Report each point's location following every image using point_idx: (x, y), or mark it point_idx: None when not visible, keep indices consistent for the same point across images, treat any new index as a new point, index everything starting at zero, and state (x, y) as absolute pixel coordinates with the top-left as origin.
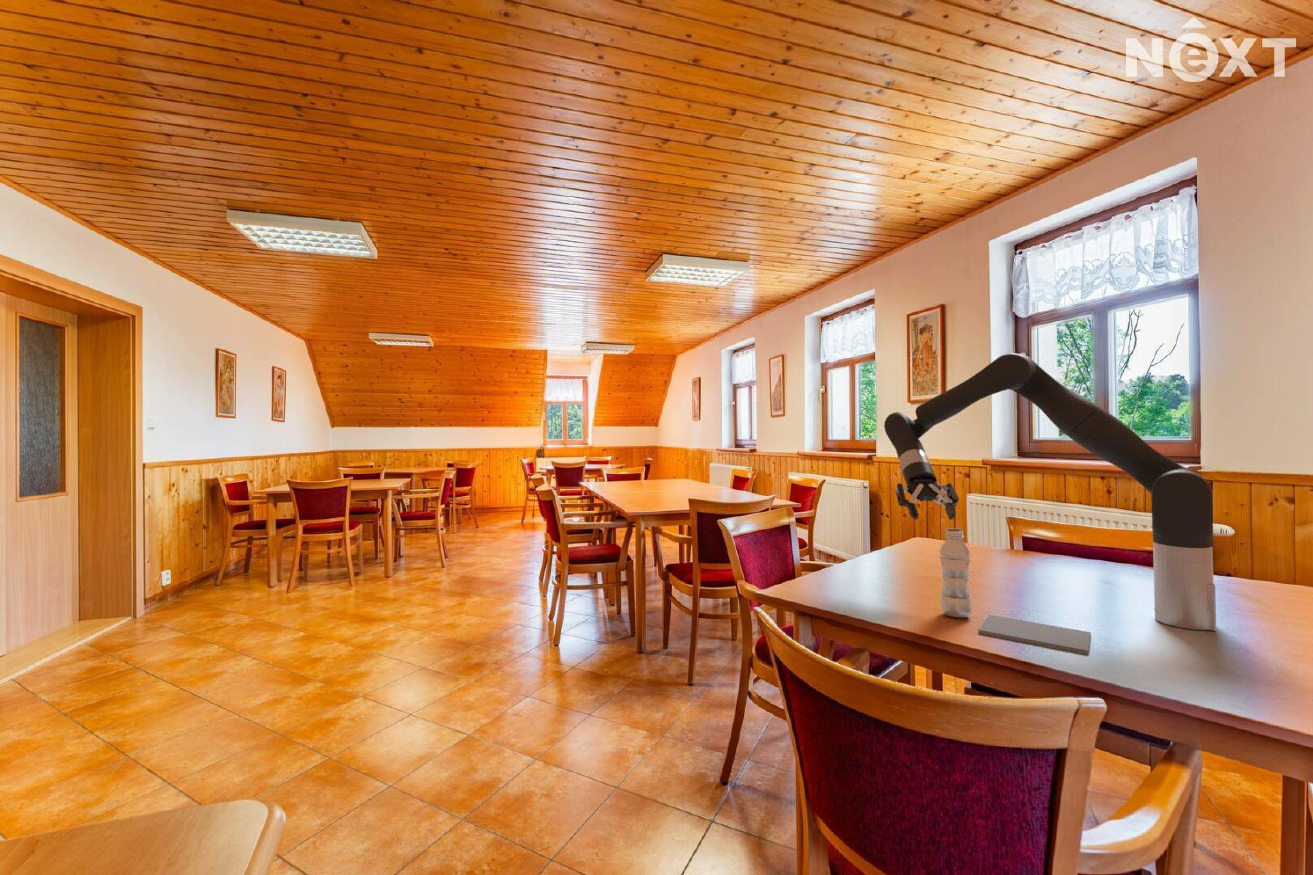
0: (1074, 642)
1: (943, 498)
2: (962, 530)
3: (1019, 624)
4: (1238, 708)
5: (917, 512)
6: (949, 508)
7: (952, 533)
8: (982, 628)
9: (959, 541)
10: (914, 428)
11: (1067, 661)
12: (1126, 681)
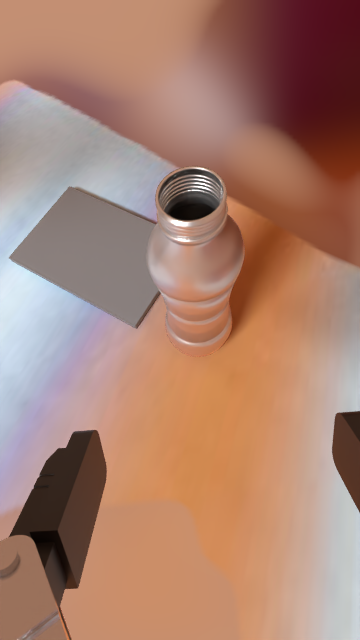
0: (67, 211)
1: (52, 603)
2: (160, 188)
3: (105, 277)
4: (23, 99)
5: (351, 422)
6: (74, 474)
7: (209, 175)
8: None
9: (183, 201)
10: None
11: (114, 167)
12: (83, 130)
